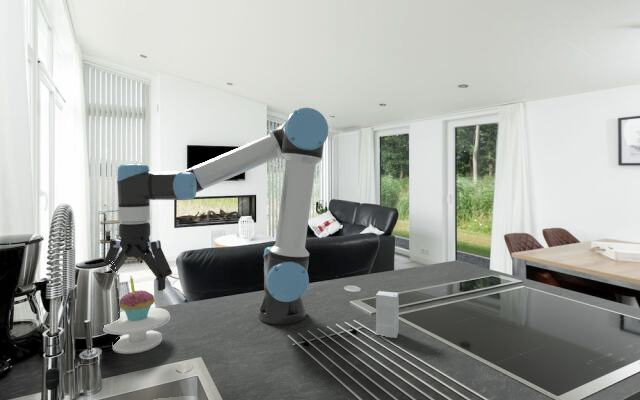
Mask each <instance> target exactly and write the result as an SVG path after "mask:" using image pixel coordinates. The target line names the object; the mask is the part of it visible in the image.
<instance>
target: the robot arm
mask: <svg viewBox="0 0 640 400" xmlns="http://www.w3.org/2000/svg"><path fill="white" fill-rule="evenodd" d="M328 135H329V124H328V121H327V119H326V118H325V116H324V115H323V114H322V112H320V111H318V110H317V109H314V108H312V107H300V108H298V109H295V110H294V111H293V112H291V113H290V114H289V115H288V116H287V118H286V121H285V122H284V123H283V124H281V125H279V126H278V127H277V128H274V129H272V130H270V131H269V132H268V135H266V136H264V137H261V138H260V139H257V140H255V141H252V142H249V143H247V144H245V145H242V146H240V147H238V148H235V149H233V150H230V151H228V152H225V153H223V154H221V155H218V156H216V157H214V158H211V159H209V160H207V161H205V162H202V163H199V164H197V165H194V166H192V167H190V168H188V169H184V170H183V171H162V172H161V171H151V170H150V167H149V165H147V164H143V163H142V164H139V163H138V164H136V163H135V164H134V163H131V164H130V163H129V164H127V163H126V164H125V163H124V164H120V165H119V166H118V167H117V180H116V184H117V198H118V199H117V203H118V208H117V209H118V217H117V218H118V219H117V220H118V222H120V223H119V225H118V236H119V237H120V238H114V239H111V240H110V241H109V249H108V251H107V254H106V256H105V258H104V261H103V263H106V264H111V265H112V266H111V267H110V268H111V269H112V270H113V271H115V272H116V271H117V273H116V275H115V279H116V278H117V277H118V282H117V288H118V287H119V297H118V298H121V289H120V286H121V284H120V283H121V282H120V279H121V278H120V274H119V270H120V269H121V268H122V266H123V264H124V263H125V262H126V260H127V259H128V258H136V259H137V258H140V260H142V261H144V263H145V265H146V266H147V267H148V268H149V270H150V271H151V272H152V274H153V275H154V276H155V277H156V278H153V294H154V295H153V296H154V303H153V305H155V304H156V305H158V304H159V303H162V302H163V301H164V290H166V277H169V276H171V275H172V274H173V271H172V269H171V267H170V264H169V263H168V260H167V257H166V256H165V253H164V252H163V249H162V243H161V240H154V241H151V240H150V237H151V223H150V222H148V221H150V219H151V213H150V212H151V210H150V201H151V200H152V201H156V200H157V201H158V200H159V201H163V200H164V201H172V200H173V201H175V200H176V201H177V200H179V201H187V200H193V199H195V198H196V197H197V196H196V194H197V193H199V192H201V191H203V190H205V189H207V188H210V187H213V186H215V185H217V184H220V183H222V182H224V181H227V180H229V179H231V178H234V177H235V176H238V175H240V174H241V175H242V174H243V173H245V172H248V171H250V170H253V169H255V168H257V167H261V166H262V165H264V164H267V163H269V162H271V161H274V160H276V159H281V160H285V164H284V174H283V181H282V188H281V189H282V190H281V195H280V196H281V197H280V205H279V210H278V211H279V213H278V220H277V227H276V235H275V243H274V245H273V246H267V247H265V248H264V250H263V251H264V253H263V260H264V261H263V264H264V265H263V273H264V274H263V275H264V276H263V277H264V279H263V280H264V281H263V282H264V283H263V284H264V285H263V287H264V290H263V291H264V292H263V293H264V294H263V298H262V300H261V303H260V306H259V310H258V318H259V319H260V321H262V322H264V323H266V324H271V325H290V324H295V323H298V322H301V321H303V320H304V319H305V318H306V316H307V315H306V313H307V312H306V306H305V302H304V299H303V295H304V294H305V293H306V292H307V289H308V287H309V283H310V279H309V273H308V268H309V259H310V252H309V251H308V250H307V249H306V242H307V235H308V226H309V221H310V220H309V218H310V211H311V204H312V203H311V202H312V196H313V188H314V180H315V179H314V178H315V173H316V166H317V164H318V163H320V162H321V161H322V160H323V159H322V158H323V152H324V145H325V142H326V140H327V138H328ZM120 248H121V250H120ZM119 251H120V252H119ZM109 260H110V261H109ZM112 261H113V262H114V263H113V262H112ZM111 262H112V263H113V264H112V263H111ZM114 264H115V265H114ZM115 267H116V269H115ZM118 298H117V299H118Z"/></svg>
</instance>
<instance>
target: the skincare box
mask: <svg viewBox="0 0 640 400" xmlns="http://www.w3.org/2000/svg"><path fill="white" fill-rule="evenodd" d="M399 303H400V302H399V292H393V291H392V292H391V291H384V290H383V291H382V290H378V292H377V293H376V294H375V336H376V335H381V336H380V337H383V336H385V337H384V338H391V339H392V338H393V339H397V338H398V335H399V325H400V324H399V321H400V320H399V317H400V316H399V310H400V309H399V308H400V307H399Z"/></svg>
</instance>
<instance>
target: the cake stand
mask: <svg viewBox="0 0 640 400" xmlns="http://www.w3.org/2000/svg"><path fill="white" fill-rule="evenodd" d="M170 319H171V314H170V312H169V311H168V310H167V309H165V308H162V307H154V306H153V307H152V306H151V307H150V309H149V312H148V315H147V317H146V318H145V319H142V320H137V321H130V320H128V318H127V315H126V313H125V311H124V310H123V311H120V318H119V319H118V320H116V321H114V322H112V323H110V324H107V325H104V328H103V330H102V331H103V332H104V333H107V334H110V335H118V336H119V337H120V339H119V340H118V341H117V342H116V343H115V344H114V345H113V344H112V350H113V352H114V353H117V354H121V355H122V354H124V355H131V354H138V353H143V352H146V351H149V350H152V349H154V348H157V346H159V345H160V344H161V343H162V341H163V335H162V333H161V332H160V331H157V330H155V329H159V328H160V327H162V326H165V325H166V324H168V322H169V321H170Z"/></svg>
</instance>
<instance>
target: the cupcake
mask: <svg viewBox="0 0 640 400" xmlns="http://www.w3.org/2000/svg"><path fill="white" fill-rule="evenodd" d="M129 277H130V278H129V282H130V289H131V291H130V292H128V293H126V294H125V295H122V297H120V299H119V308H120V309H122V310H123V311H125V313H126V315H127V318H128V320H130V321H137V320H142V319H145V318H146V317H147V315H148V312H149V309H150V307H152V305H154V295H153V294H152V293H150V292H148V291H147V290H143V289H142V290H135V284H134V278H133V277H132V275H130V276H129Z"/></svg>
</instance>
